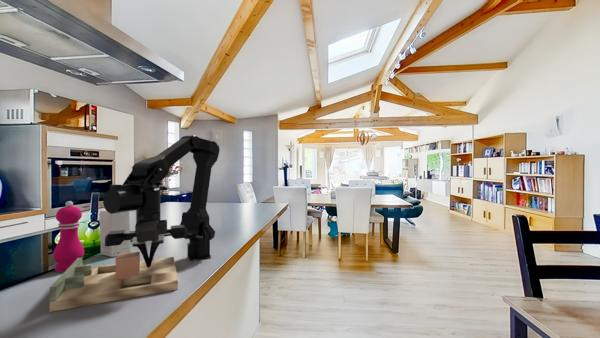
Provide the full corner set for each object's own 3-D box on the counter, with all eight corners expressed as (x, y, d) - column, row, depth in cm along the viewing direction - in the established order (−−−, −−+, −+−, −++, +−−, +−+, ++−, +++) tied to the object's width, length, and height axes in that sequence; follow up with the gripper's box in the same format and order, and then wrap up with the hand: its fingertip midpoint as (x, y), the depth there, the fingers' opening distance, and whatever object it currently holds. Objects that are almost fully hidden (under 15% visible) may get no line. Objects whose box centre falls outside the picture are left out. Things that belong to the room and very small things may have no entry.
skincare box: (130, 253, 99) (131, 209, 99) (110, 258, 93) (110, 211, 93) (119, 249, 103) (119, 207, 103) (98, 254, 98) (98, 209, 98)
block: (139, 269, 76) (139, 251, 76) (138, 275, 71) (138, 256, 71) (117, 272, 74) (117, 253, 74) (115, 279, 69) (115, 259, 69)
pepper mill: (58, 274, 78) (58, 203, 78) (48, 270, 82) (49, 201, 82) (88, 267, 84) (88, 200, 84) (78, 263, 88) (78, 199, 88)
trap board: (173, 263, 87) (173, 247, 87) (177, 289, 68) (177, 268, 68) (77, 276, 77) (77, 258, 77) (49, 311, 57) (49, 287, 57)
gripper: (100, 215, 63) (100, 284, 63) (188, 209, 72) (189, 270, 72) (108, 209, 73) (108, 269, 73) (185, 205, 82) (185, 258, 82)
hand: (148, 267), depth 75 cm, fingers closed
